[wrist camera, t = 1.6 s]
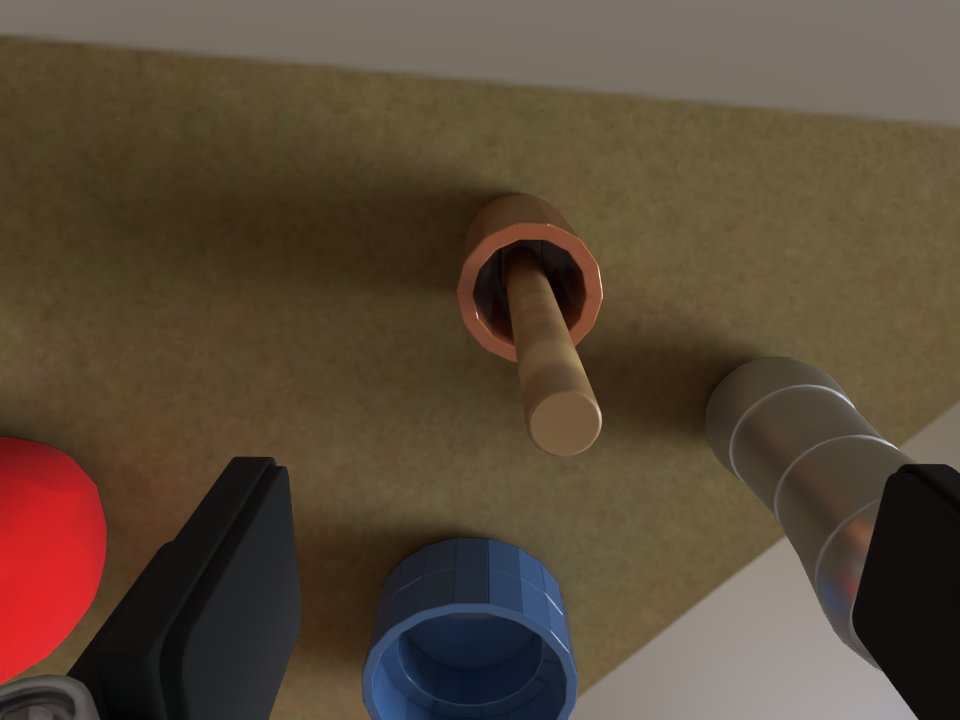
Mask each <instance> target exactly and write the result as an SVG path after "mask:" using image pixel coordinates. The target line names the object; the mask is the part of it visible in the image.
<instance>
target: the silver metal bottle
mask: <svg viewBox="0 0 960 720" xmlns="http://www.w3.org/2000/svg"><path fill="white" fill-rule="evenodd" d="M705 425H706V431H707V435H708V438H709V442H710V445H711V447H712V450H713V452H714V454H715V456H716V457H717V459H718V460H719V461H720V462H721V464H722V465H723V466H724V467H725V468H726V469H727V470H728V471H729V472H731V473H732V474H733V475H734V476H735V477H736V478H737V479H739V480H740V481H741V482H742V483H744V484H745V485H746V486H748V487H749V488H750V489H751V490H752V491H753V492H754V493H755V494H756V496H757V497H758V498H759V499H760V500H761V501H762V502H763V503H764V504H765V506H766V507H767V508H768V509H769V510H770V511H771V512H772V513H773V514H774V516H775V518H776V519H777V521H778V523H779V524H780V526H781V527H782V528H783V531H784V533H785V534H786V536H787V538H788V539H789V541H790V542H791V544H792V546H793V547H794V549H795V551H796V552H797V554H798V556H799V558H800V560H801V562H802V565H803V567H804V569H805V571H806V574H807V576H808V578H809V580H810V582H811V584H812V587H813V589H814V592H815V594H816V596H817V598H818V600H819V603H820V605H821V607H822V610H823V611H824V614H825V615H826V617H827V619H828V621H829V622H830V624H831V626H832V628H833V630H834V631H835V633H836V634H837V635H838V636H839V638H840V639H841V640H842V642H843V643H844V644H846V645H847V646H848V647H849V648H851V649H852V650H853V651H854V652H856V653H857V654H858V655H859V656H861V657H862V658H863V659H865V660H866V661H867V662H868V663H870V664H871V665H872V666H873V667H875V668H877V669H879V670H881V671H882V669H881V668H880V667H879V665H878V664H877V663H876V661H875V660H874V659H873V657H872V656H871V655H870V653H869V652H868V650H867V649H866V648H865V646H864V645H863V644H862V642H861V641H860V640H859V638H858V636H857V635H856V633H855V630H854V627H853V623H852V611H853V607H854V603H855V599H856V595H857V592H858V588H859V584H860V580H861V576H862V572H863V568H864V564H865V561H866V557H867V553H868V549H869V545H870V541H871V537H872V534H873V530H874V526H875V522H876V518H877V514H878V510H879V507H880V503H881V499H882V495H883V491H884V487H885V483H886V481H887V478H888V477H889V476H890V475H891V474H893V473H896V472H897V470H898V469H899V468H900V467H901V466H902V465H905V464H919V463H917V462H916V461H915V460H913V459H912V458H910V457H909V456H908V455H906V454H905V453H903V452H902V451H900V450H898V449H897V448H896V447H895V446H894V445H892V444H891V443H889V442H888V441H887V440H885V439H884V438H882V437H881V436H880V435H879V434H878V432H877V431H876V430H875V429H874V428H873V427H872V426H871V425H870V424H869V423H868V422H867V421H866V420H865V419H864V418H863V417H862V416H861V415H860V414H859V413H858V412H857V411H856V409H855V407H854V406H853V404H852V402H851V401H850V399H849V398H848V396H847V395H846V393H845V392H844V391H843V390H842V389H841V387H840V386H839V385H838V384H837V383H836V382H835V380H833V379H832V378H831V377H830V376H829V375H828V374H827V373H825V372H824V371H822V370H820V369H818V368H816V367H814V366H812V365H809V364H807V363H804V362H802V361H799V360H795V359H792V358H787V357H766V358H762V359H758V360H754V361H751V362H749V363H746V364H744V365H742V366H740V367H739V368H737V369H735V370H734V371H732V372H731V373H730V374H728V375H727V376H726V377H725V378H724V379H723V380H722V381H721V382H720V383H719V385H718V386H717V387H716V388H715V390H714V391H713V393H712V395H711V397H710V399H709V401H708V404H707V408H706V411H705Z"/></svg>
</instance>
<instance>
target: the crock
mask: <svg viewBox="0 0 960 720" xmlns="http://www.w3.org/2000/svg"><path fill="white" fill-rule="evenodd" d="M517 240H543V248H542V267H543V269H544V272H545V274H546V277H547V279H548V282H549V284H550V287H551V289H552V292H553V294H554V297H555V299H556V302H557V304H558V307H559V309H560V312H561V314H562V317H563V319H564V321H565V324H566V326H567V329H568V331H569V334H570V336H571V339H572V341H573V344H574V346H576V345H577V344H578V343H579V342H580V340H581V339H582V338H583V337H584V336H585V335H586V334H587V333H588V332H589V331H590V330H591V329H592V327H593V326H594V324H595V320H596V317H597V314H598V311H599V308H600V305H601V302H602V299H603V291H602V284H601V278H600V271H599V266H598V263H597V262H596V260H595V259H594V258H593V256H592V255H591V253H590V252H589V251H588V249H587V248H586V246H585V245H584V244H583V242H582V241H581V239H580V238H579V237H578V236H577V234H576V233H575V232H574V231H573V229H572V228H571V227H570V226H569V224H568V223H567V222H566V221H565V219H564V218H563V217H562V216H561V214H560V213H559V212H558V211H557V209H556V208H554V207H553V206H551V205H550V204H548V203H547V202H545V201H543V200H541V199H539V198H537V197H534V196H530V195H525V194H512V195H506V196H503V197H500V198H497V199H495V200H493V201H491V202H490V203H488V204H486V205H485V206H484V207H483V208H482V209H480V211H479V212H478V213H477V214H476V215H475V217H474V218H473V219H472V221H471V223H470V224H469V226H468V228H467V232H466V236H465V241H464V245H463V250H462V257H461V264H460V272H459V279H458V286H457V300H458V304H459V308H460V313H461V317H462V321H463V324H464V326H465V327H466V328H467V330H468V331H469V332H470V333H471V334H472V336H473V337H474V338H475V339H476V341H477V342H478V343H479V344H480V345H481V347H483V348H484V349H485V350H487V351H489V352H492V353H494V354H496V355H498V356H500V357H502V358H504V359H506V360H508V361H512V362H517V357H516V350H515V343H514V337H513V330H512V323H511V316H510V309H509V302H508V295H507V288H502V287H501V286H500V279H499V248H502V247H504V246H506V245H508V244H510V243H513V242H515V241H517Z"/></svg>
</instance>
